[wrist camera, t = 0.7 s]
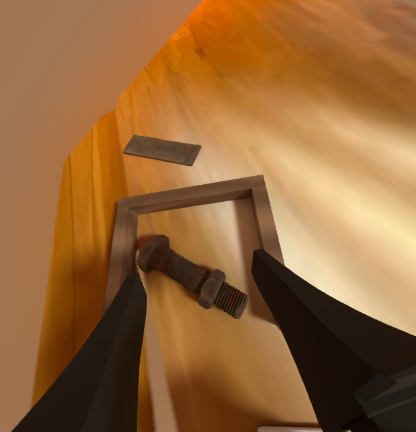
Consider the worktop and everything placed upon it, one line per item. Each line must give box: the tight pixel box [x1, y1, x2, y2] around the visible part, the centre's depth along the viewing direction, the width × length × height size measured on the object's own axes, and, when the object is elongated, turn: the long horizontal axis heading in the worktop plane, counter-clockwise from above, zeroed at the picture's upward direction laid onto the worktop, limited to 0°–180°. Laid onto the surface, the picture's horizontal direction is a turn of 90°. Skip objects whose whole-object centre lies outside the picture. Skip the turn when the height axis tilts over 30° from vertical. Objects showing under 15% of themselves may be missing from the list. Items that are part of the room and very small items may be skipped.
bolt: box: [137, 235, 248, 319], centre depth 23 cm, size 6×5×15 cm
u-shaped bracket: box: [102, 175, 285, 331], centre depth 25 cm, size 20×24×3 cm
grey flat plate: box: [123, 135, 201, 166], centre depth 36 cm, size 17×1×5 cm
